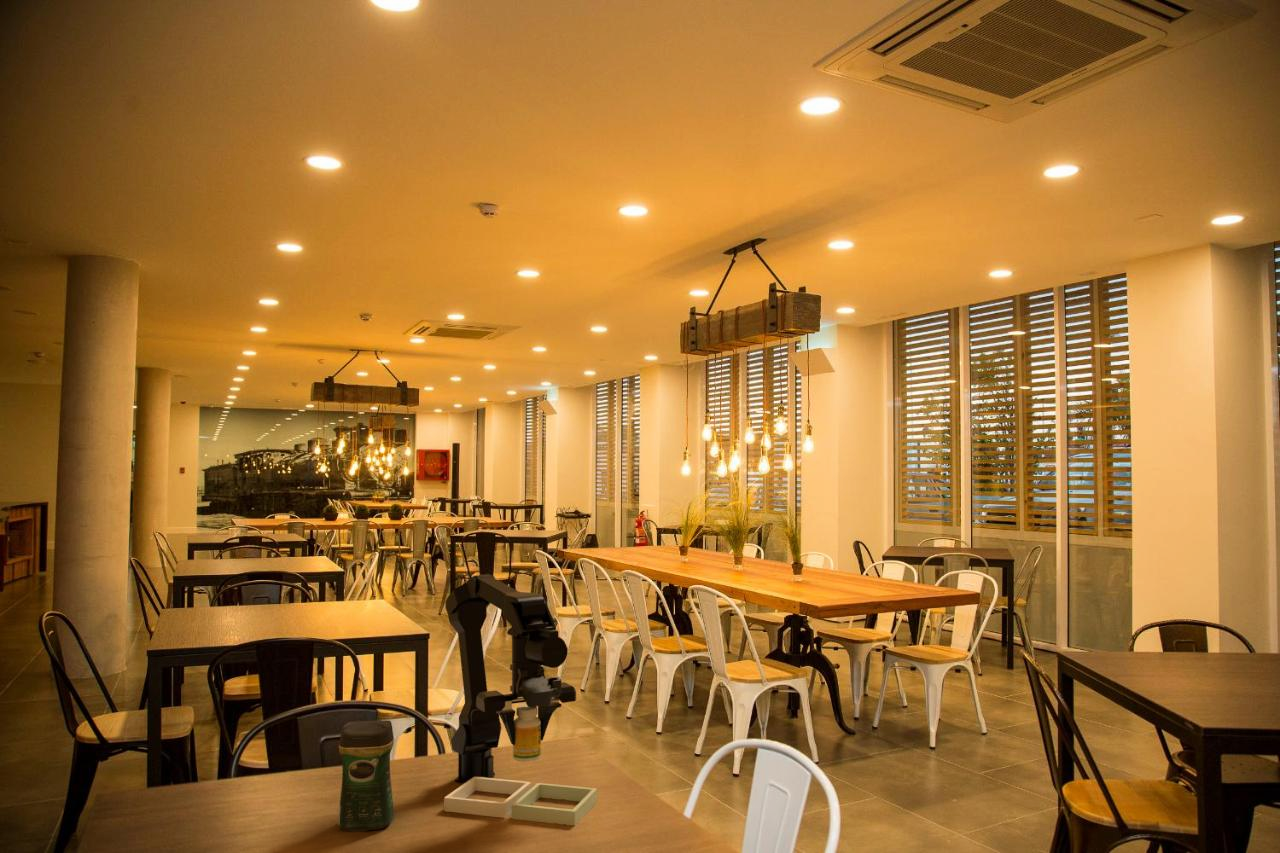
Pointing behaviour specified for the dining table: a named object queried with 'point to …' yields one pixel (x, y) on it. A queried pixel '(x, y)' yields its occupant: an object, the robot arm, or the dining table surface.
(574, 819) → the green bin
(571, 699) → the robot arm
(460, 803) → the white bin
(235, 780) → the dining table surface
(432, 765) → the dining table surface
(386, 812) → the coffee jar
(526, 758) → the supplement bottle
